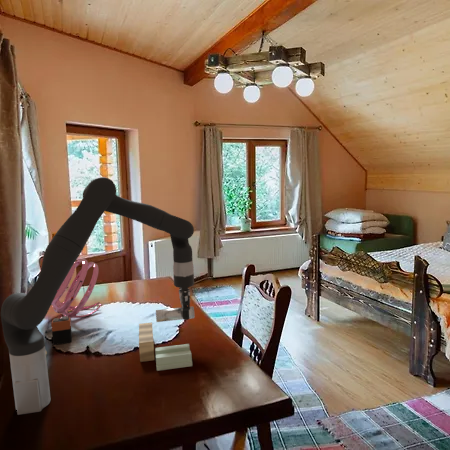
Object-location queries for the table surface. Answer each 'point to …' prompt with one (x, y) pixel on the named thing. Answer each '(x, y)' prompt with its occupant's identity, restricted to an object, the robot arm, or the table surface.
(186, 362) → the v block
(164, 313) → the pale grey long bar
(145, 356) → the beam
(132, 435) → the table surface
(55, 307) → the spiral basket
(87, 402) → the table surface
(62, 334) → the battery
